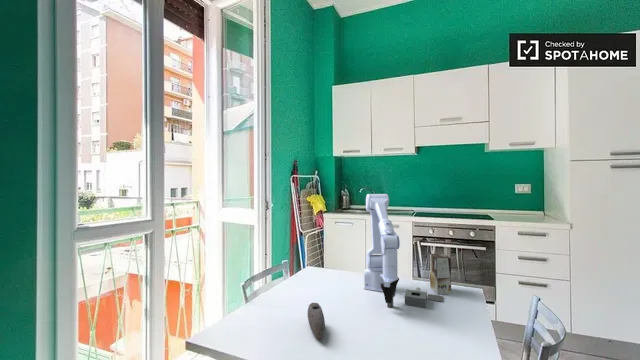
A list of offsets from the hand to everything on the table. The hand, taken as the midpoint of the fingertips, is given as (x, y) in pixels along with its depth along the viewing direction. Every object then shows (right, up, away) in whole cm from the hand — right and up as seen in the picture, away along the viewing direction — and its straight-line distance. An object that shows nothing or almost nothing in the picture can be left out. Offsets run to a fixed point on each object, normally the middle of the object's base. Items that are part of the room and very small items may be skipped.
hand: (390, 299), depth 114 cm
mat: (+21, -3, +8) cm, 22 cm away
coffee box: (+27, -3, +17) cm, 32 cm away
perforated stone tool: (-29, -3, -19) cm, 35 cm away
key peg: (0, -3, 0) cm, 3 cm away
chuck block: (+13, -3, +7) cm, 15 cm away
